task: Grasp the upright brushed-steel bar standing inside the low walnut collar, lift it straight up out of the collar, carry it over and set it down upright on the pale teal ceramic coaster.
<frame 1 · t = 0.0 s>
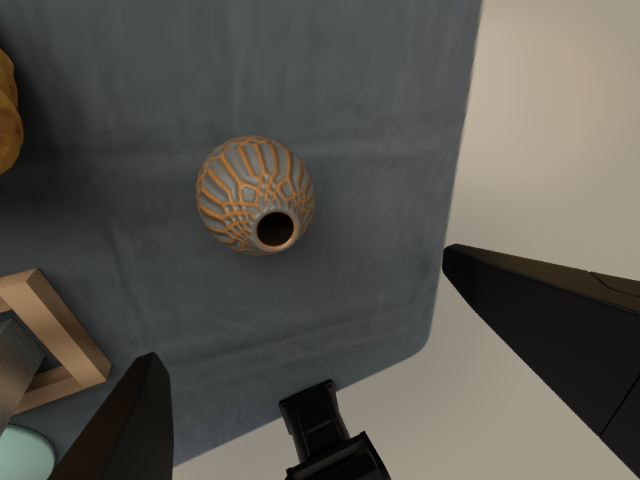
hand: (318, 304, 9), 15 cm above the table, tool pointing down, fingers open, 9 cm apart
vase: (247, 179, 21), on the table
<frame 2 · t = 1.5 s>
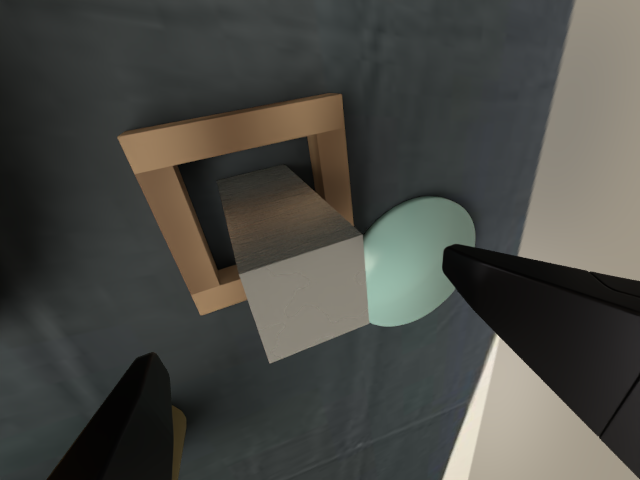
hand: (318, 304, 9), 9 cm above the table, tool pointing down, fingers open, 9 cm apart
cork: (139, 430, 21), on the table
walnut collar: (259, 203, 17), on the table
steel bar: (278, 238, 13), in the walnut collar
teal coaster: (411, 264, 23), on the table
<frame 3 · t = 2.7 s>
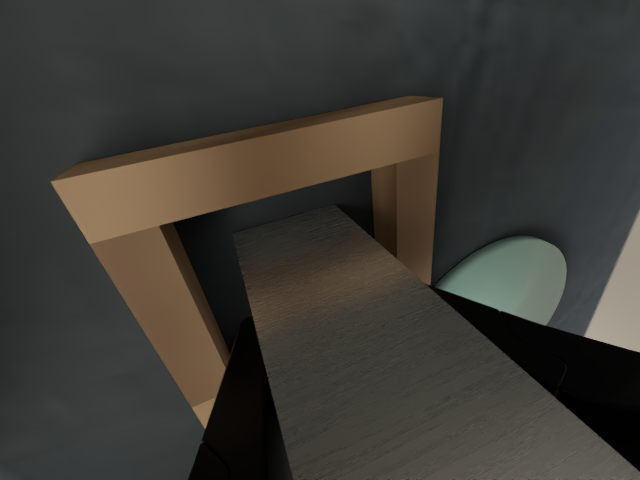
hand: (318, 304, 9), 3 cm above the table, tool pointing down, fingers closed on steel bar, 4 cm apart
walnut collar: (294, 261, 11), on the table
steel bar: (346, 354, 7), in the walnut collar, touching gripper
teal coaster: (481, 320, 17), on the table
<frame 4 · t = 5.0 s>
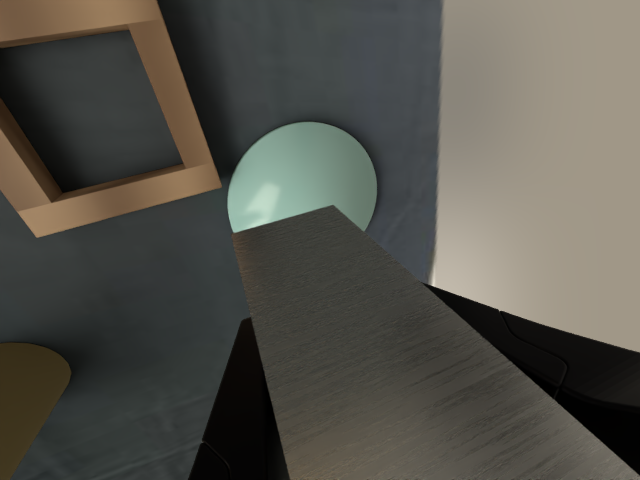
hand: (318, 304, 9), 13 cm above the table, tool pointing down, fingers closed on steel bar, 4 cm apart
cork: (15, 374, 20), on the table
walnut collar: (95, 116, 15), on the table
steel bar: (345, 354, 7), point 15 cm above the table, touching gripper
teal coaster: (306, 202, 22), on the table
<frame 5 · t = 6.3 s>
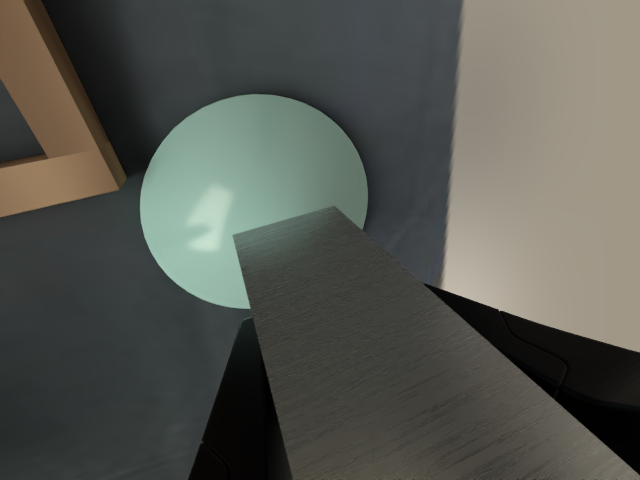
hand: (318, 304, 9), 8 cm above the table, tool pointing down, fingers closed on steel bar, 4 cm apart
steel bar: (346, 355, 7), point 10 cm above the table, touching gripper
teal coaster: (266, 213, 15), on the table
when the fingers open (4 cm above the table, at t = 7.2 s): steel bar drops 1 cm, resting on teal coaster.
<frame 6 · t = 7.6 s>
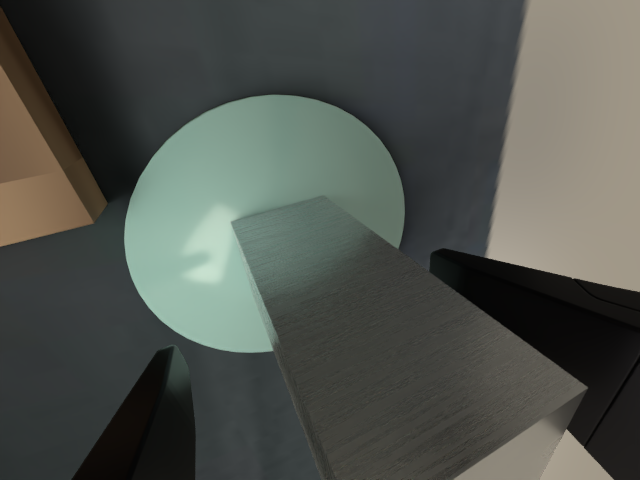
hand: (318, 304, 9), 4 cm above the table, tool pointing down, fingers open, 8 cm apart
steel bar: (338, 321, 8), on the teal coaster, point 5 cm above the table
teal coaster: (282, 241, 12), on the table
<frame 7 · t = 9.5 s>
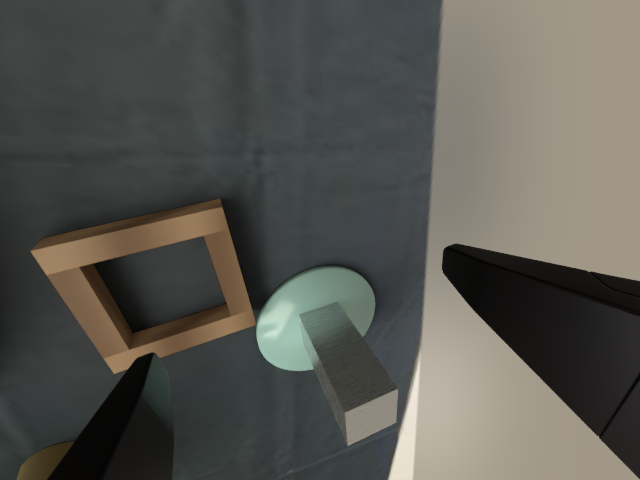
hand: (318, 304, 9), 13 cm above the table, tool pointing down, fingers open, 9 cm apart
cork: (69, 464, 24), on the table
walnut collar: (166, 281, 20), on the table
steel bar: (342, 362, 22), on the teal coaster, point 5 cm above the table
teal coaster: (317, 319, 27), on the table
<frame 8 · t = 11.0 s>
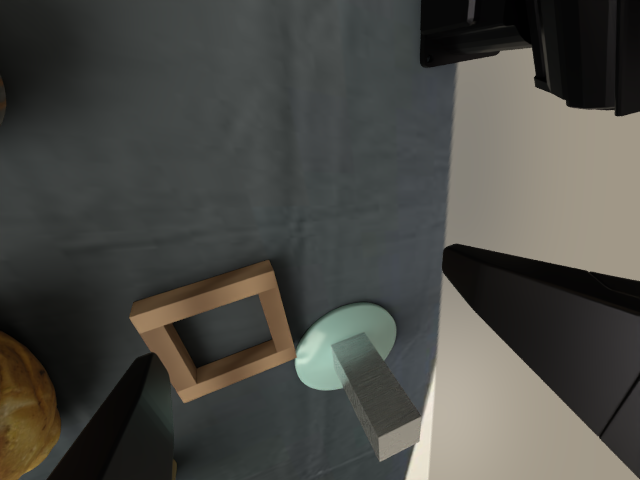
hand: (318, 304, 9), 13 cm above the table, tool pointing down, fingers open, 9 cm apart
walnut collar: (224, 326, 24), on the table
steel bar: (370, 388, 26), on the teal coaster, point 5 cm above the table
teal coaster: (346, 346, 30), on the table
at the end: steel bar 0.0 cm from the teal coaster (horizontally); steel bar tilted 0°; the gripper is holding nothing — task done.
